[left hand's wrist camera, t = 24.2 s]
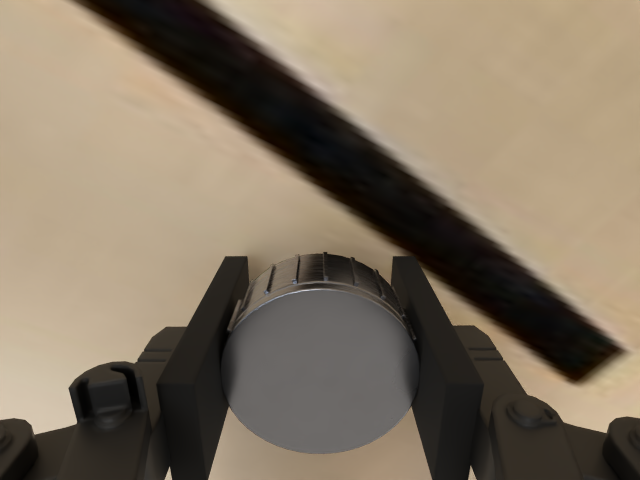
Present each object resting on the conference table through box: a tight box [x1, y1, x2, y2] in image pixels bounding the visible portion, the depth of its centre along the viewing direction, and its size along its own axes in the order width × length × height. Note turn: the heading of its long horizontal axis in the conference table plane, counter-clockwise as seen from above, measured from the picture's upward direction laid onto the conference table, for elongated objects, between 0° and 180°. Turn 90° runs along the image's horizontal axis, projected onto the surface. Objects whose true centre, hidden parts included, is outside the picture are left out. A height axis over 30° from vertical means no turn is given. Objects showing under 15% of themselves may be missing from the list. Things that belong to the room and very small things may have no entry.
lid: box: [220, 252, 420, 454], centre depth 12 cm, size 5×5×2 cm
